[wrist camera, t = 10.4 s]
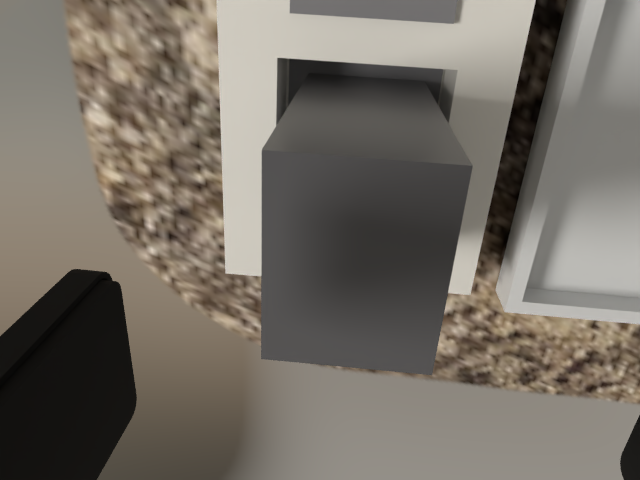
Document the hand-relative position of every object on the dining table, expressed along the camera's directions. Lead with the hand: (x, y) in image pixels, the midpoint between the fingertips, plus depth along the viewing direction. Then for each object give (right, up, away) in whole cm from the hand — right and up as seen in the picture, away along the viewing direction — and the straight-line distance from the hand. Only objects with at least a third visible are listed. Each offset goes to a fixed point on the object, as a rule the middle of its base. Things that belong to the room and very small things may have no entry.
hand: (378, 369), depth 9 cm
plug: (+1, +6, +12) cm, 13 cm away
